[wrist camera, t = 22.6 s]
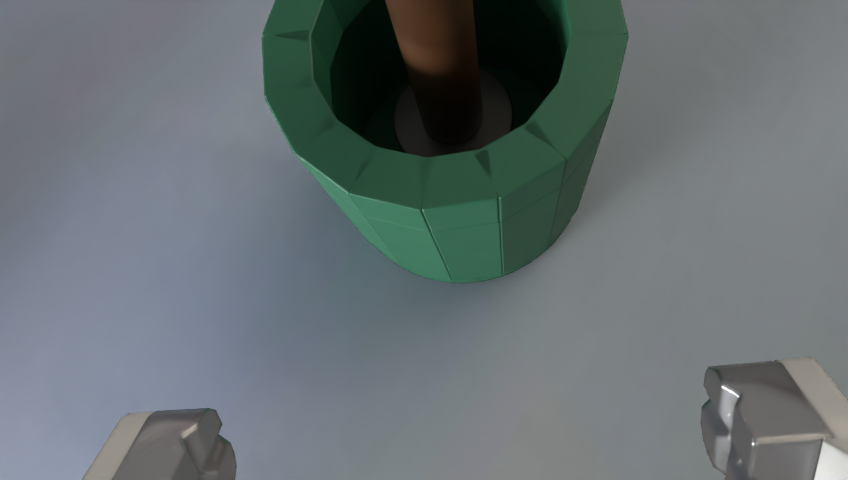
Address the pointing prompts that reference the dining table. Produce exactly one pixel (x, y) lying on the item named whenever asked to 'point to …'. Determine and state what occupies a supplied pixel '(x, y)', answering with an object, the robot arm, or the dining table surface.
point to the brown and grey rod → (445, 81)
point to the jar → (459, 172)
